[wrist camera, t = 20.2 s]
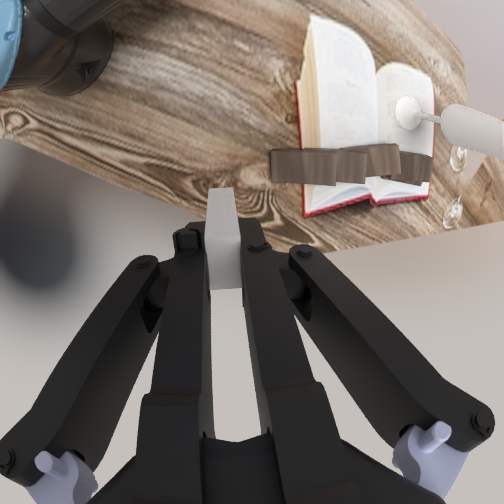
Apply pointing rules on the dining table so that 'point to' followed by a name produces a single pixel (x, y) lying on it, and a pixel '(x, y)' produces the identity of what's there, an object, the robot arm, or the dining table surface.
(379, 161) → the domino
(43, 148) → the dining table surface
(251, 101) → the dining table surface
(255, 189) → the dining table surface
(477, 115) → the champagne flute
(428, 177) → the domino
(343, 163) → the domino
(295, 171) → the domino
